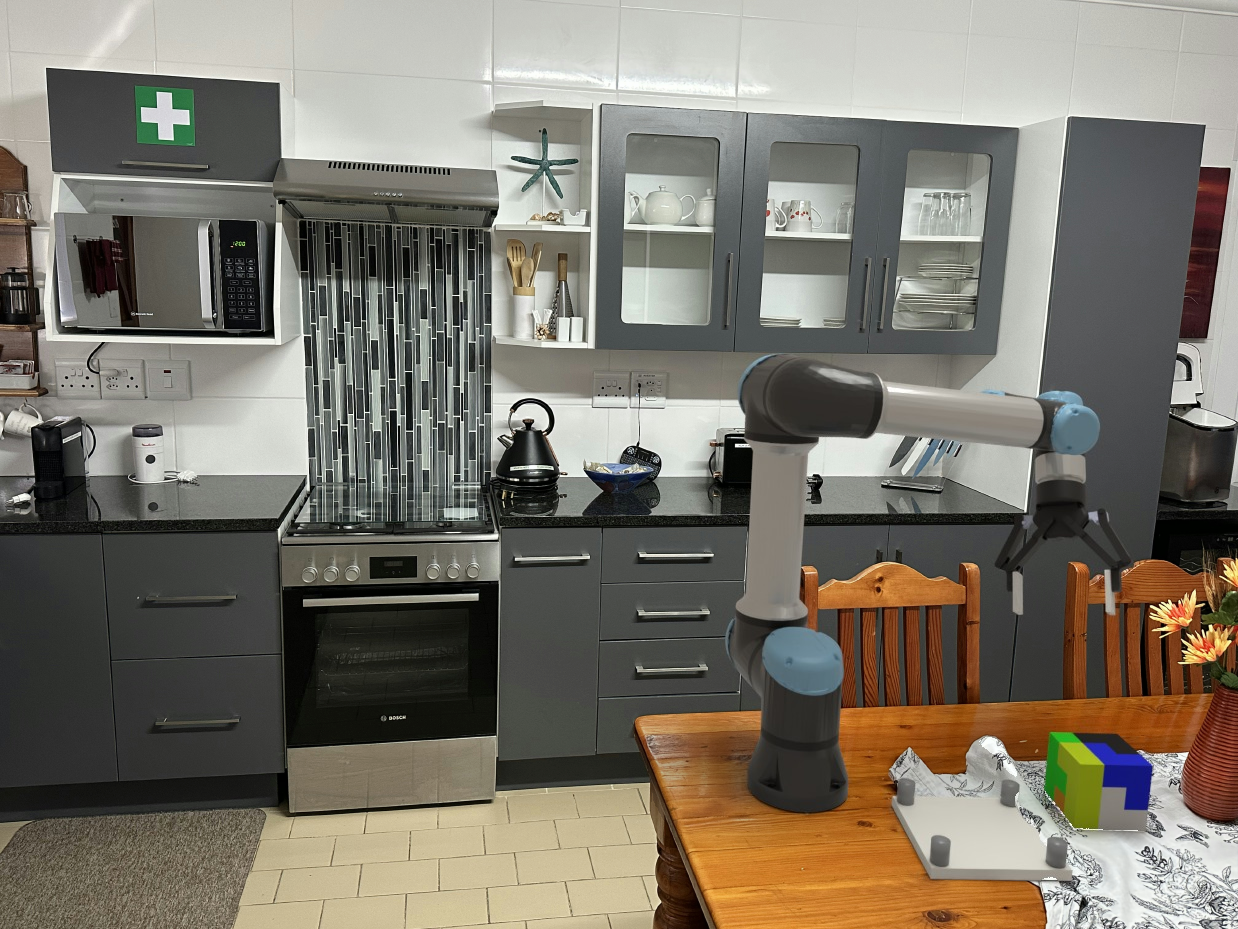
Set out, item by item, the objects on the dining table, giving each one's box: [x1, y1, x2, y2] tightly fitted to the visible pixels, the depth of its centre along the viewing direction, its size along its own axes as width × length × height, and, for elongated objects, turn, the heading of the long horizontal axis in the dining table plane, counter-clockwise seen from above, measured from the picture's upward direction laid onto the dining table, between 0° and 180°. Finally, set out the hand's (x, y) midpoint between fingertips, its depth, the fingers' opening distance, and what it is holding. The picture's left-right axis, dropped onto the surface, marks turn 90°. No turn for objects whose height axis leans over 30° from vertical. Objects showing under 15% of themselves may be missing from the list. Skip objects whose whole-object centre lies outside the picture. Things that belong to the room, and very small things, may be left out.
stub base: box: [891, 777, 1073, 882], centre depth 130 cm, size 18×18×4 cm
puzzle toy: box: [1043, 731, 1154, 833], centre depth 137 cm, size 10×10×10 cm
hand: (1062, 613), depth 149 cm, fingers open, 13 cm apart
